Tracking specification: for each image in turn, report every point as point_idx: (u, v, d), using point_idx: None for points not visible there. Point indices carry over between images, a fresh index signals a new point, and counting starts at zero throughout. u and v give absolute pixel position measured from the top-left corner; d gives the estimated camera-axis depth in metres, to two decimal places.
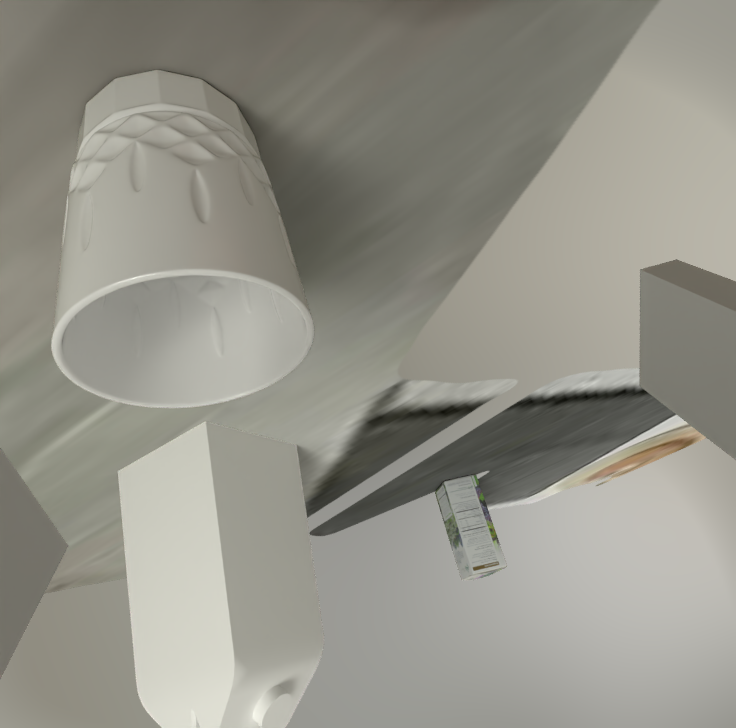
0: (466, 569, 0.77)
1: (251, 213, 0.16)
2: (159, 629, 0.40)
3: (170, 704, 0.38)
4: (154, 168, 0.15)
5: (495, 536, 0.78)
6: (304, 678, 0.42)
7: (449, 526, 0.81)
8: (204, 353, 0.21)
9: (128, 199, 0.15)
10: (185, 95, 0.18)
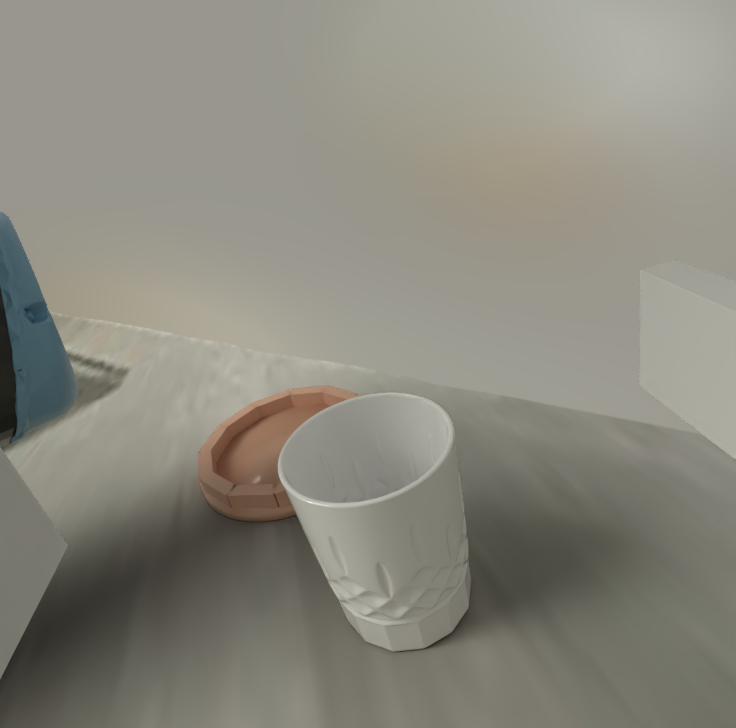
0: None
1: None
2: None
3: None
4: None
5: None
6: None
7: None
8: None
9: None
10: None
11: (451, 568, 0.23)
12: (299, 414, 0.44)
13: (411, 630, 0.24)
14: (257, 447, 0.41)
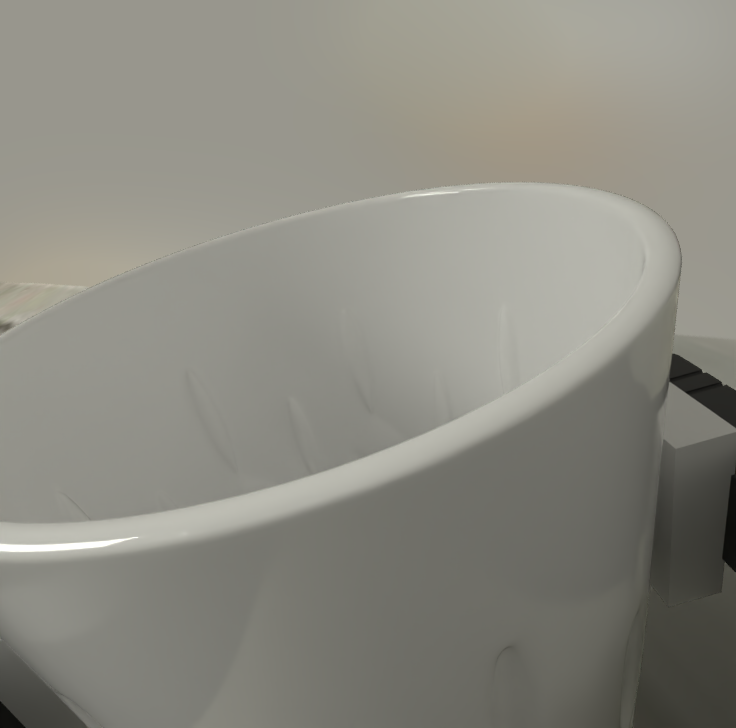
0: None
1: None
2: None
3: None
4: None
5: None
6: None
7: None
8: None
9: None
10: None
11: None
12: None
13: None
14: None
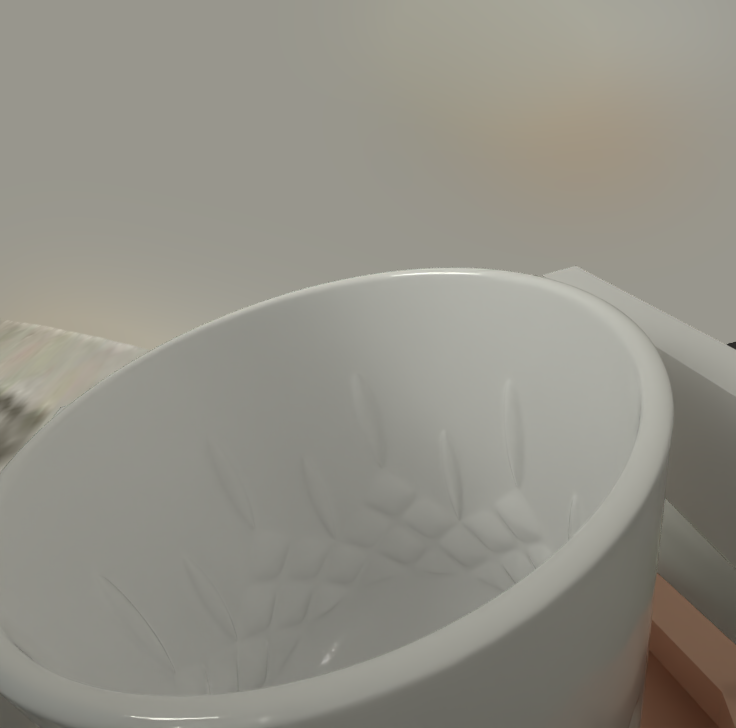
0: None
1: None
2: None
3: None
4: None
5: None
6: None
7: None
8: None
9: None
10: None
11: None
12: None
13: None
14: None
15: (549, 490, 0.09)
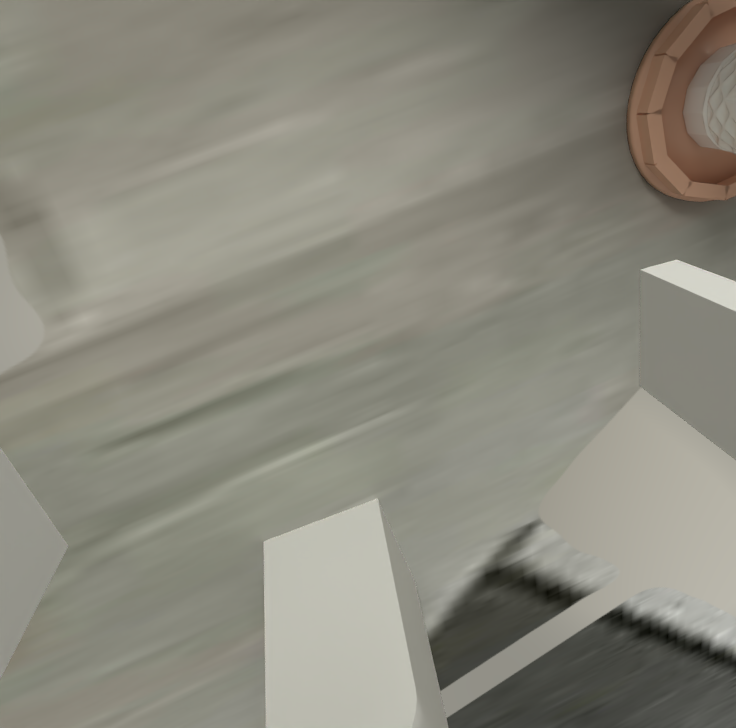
0: None
1: None
2: (308, 677, 0.36)
3: None
4: None
5: None
6: None
7: None
8: None
9: None
10: None
11: (731, 145, 0.34)
12: None
13: (697, 106, 0.35)
14: None
15: None
